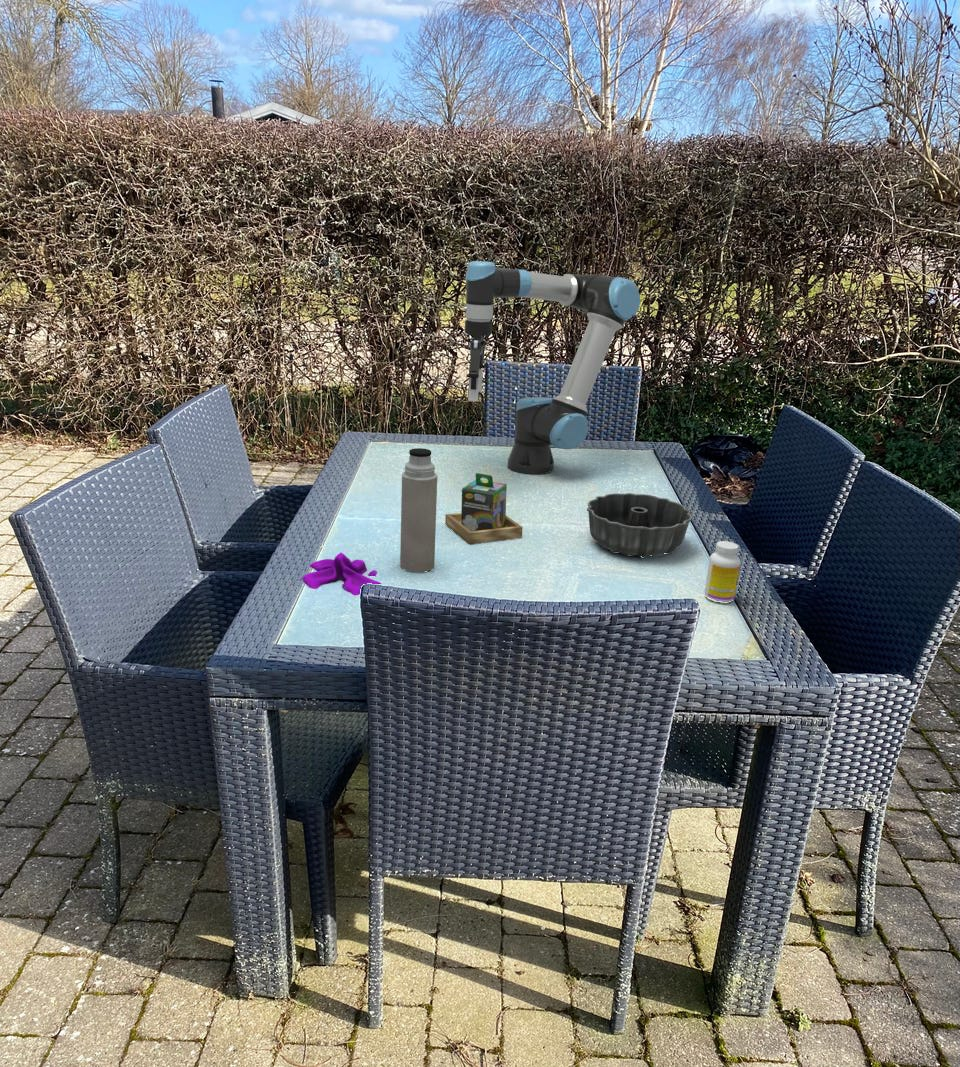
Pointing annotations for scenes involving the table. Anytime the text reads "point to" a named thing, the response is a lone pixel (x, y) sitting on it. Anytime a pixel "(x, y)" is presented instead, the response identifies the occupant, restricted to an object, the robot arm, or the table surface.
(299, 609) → the table surface
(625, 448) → the table surface
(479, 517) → the chalk box
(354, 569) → the cloth
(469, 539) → the bamboo tray
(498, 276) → the robot arm
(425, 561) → the thermos bottle
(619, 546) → the bundt pan
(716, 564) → the supplement bottle
